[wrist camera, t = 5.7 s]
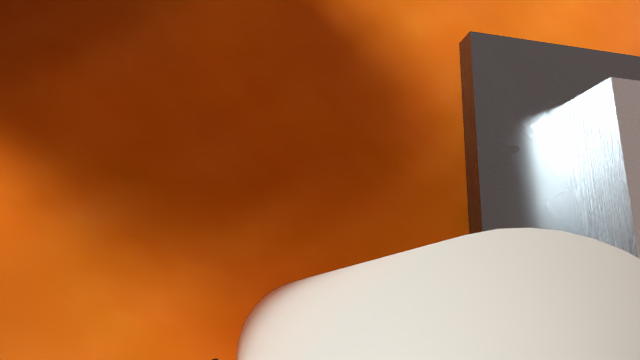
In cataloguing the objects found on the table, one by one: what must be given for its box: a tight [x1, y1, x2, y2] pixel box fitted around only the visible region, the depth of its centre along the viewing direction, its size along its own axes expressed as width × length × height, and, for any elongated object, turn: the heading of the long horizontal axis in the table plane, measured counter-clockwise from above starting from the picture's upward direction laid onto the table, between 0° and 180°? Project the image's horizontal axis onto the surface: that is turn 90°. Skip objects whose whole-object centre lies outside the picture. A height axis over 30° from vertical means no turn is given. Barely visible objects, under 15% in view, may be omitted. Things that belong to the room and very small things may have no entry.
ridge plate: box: [459, 31, 640, 259], centre depth 17 cm, size 22×12×4 cm, turn 178°
